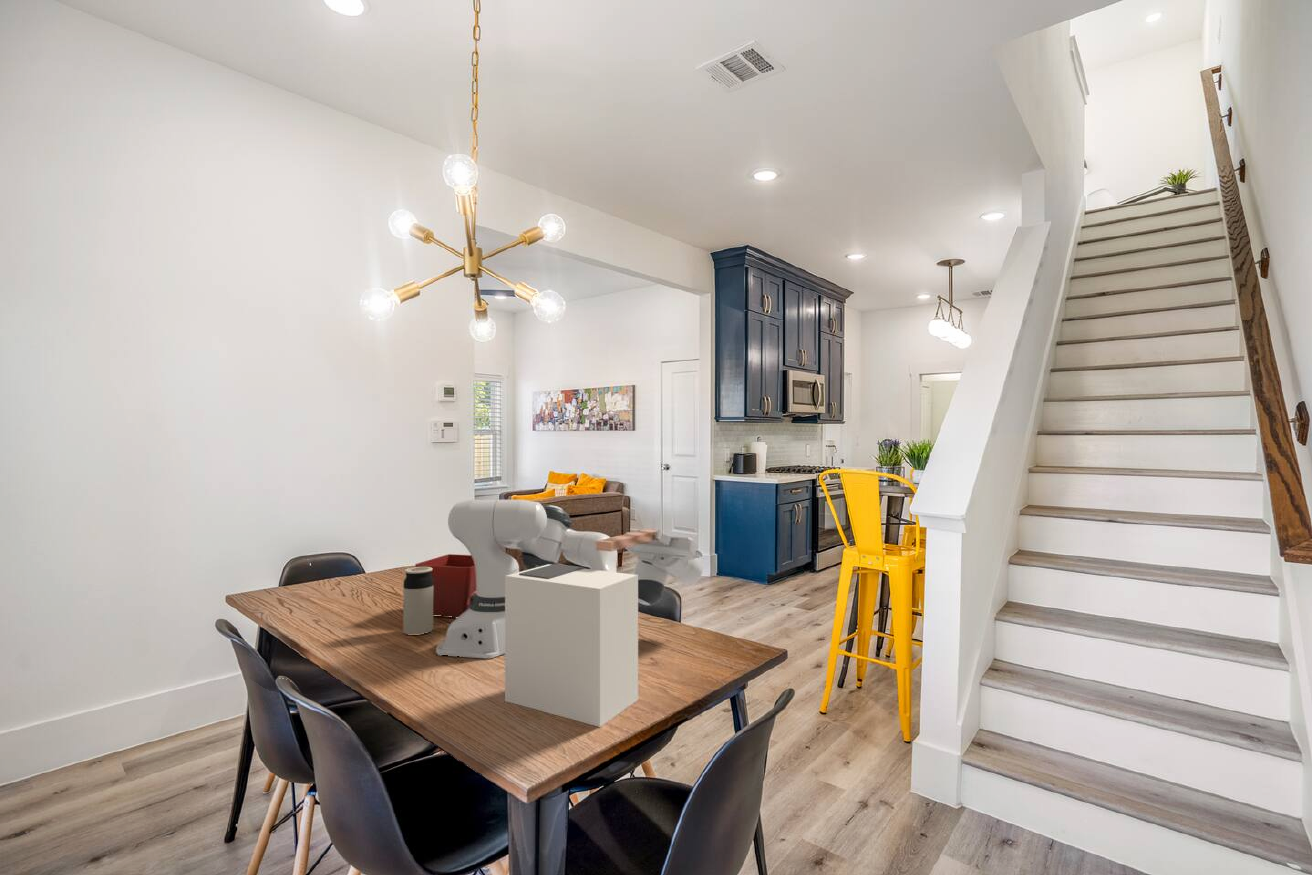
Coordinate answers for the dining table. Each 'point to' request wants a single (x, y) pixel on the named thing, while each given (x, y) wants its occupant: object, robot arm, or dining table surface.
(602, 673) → the tall white box
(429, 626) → the travel mug
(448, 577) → the plant pot
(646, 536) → the terracotta slat
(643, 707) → the dining table surface
